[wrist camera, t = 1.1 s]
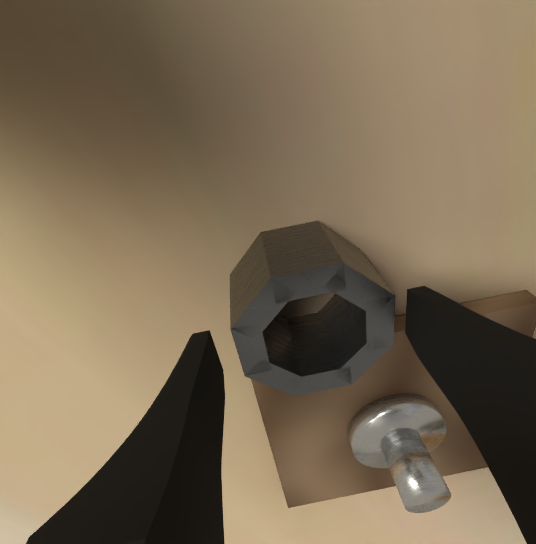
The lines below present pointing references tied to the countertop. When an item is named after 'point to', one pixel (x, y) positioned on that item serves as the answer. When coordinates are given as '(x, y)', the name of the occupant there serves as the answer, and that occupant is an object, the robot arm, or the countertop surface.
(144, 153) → the countertop surface
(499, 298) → the board
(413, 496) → the piston post
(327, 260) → the ring
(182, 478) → the robot arm
